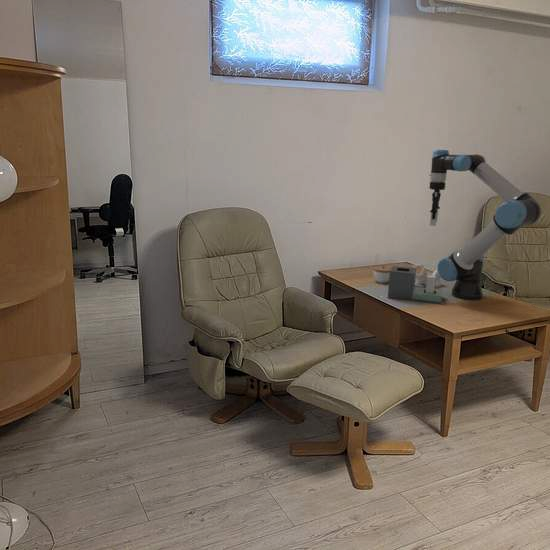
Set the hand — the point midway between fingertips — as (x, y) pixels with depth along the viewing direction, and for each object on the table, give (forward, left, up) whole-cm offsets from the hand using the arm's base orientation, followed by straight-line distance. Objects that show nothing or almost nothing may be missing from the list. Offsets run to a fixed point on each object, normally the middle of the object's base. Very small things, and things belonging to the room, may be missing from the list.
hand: (433, 223), depth 275 cm
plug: (-2, +12, -36) cm, 38 cm away
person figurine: (+2, -13, -37) cm, 39 cm away
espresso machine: (+5, +12, -37) cm, 39 cm away
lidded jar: (+25, -12, -37) cm, 46 cm away
